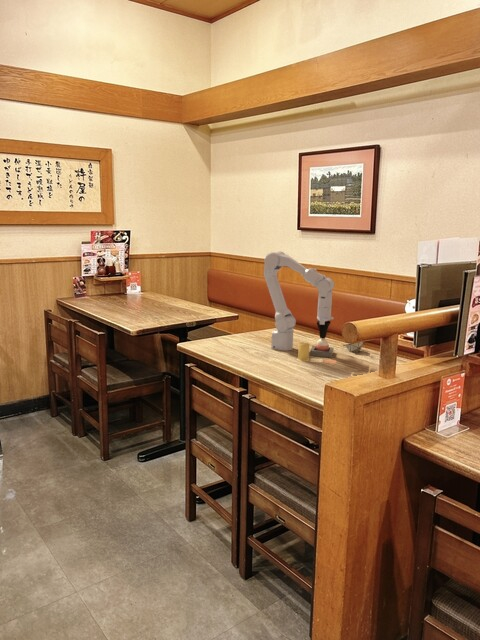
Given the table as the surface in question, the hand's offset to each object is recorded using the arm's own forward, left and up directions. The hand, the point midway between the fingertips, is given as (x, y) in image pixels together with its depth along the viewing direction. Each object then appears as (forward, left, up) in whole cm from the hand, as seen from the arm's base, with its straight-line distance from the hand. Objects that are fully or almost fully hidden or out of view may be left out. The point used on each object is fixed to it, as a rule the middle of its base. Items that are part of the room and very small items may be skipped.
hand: (322, 338), depth 216 cm
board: (-1, -5, -8) cm, 10 cm away
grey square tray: (0, 0, -7) cm, 7 cm away
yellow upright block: (-7, -11, -7) cm, 15 cm away
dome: (0, 0, -6) cm, 6 cm away
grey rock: (+13, +11, -8) cm, 19 cm away
